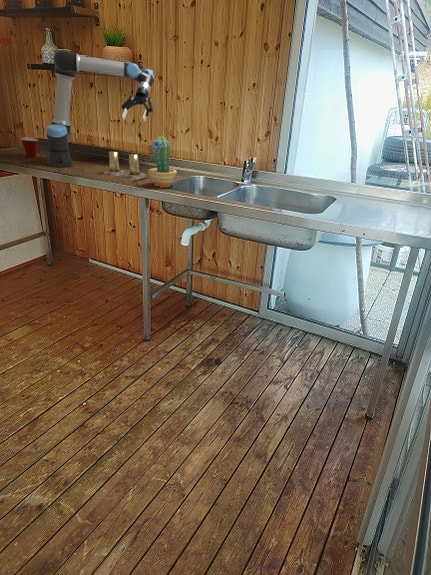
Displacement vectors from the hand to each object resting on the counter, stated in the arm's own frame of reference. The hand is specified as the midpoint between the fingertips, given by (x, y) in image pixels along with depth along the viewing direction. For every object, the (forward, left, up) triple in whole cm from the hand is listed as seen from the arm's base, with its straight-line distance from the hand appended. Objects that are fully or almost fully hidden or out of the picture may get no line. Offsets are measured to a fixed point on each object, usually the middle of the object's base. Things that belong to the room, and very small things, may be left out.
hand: (133, 118), depth 243 cm
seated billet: (+4, -26, -28) cm, 39 cm away
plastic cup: (-77, -11, -30) cm, 83 cm away
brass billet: (+18, -26, -28) cm, 43 cm away
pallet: (+11, -26, -30) cm, 41 cm away
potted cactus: (+39, -30, -30) cm, 58 cm away
